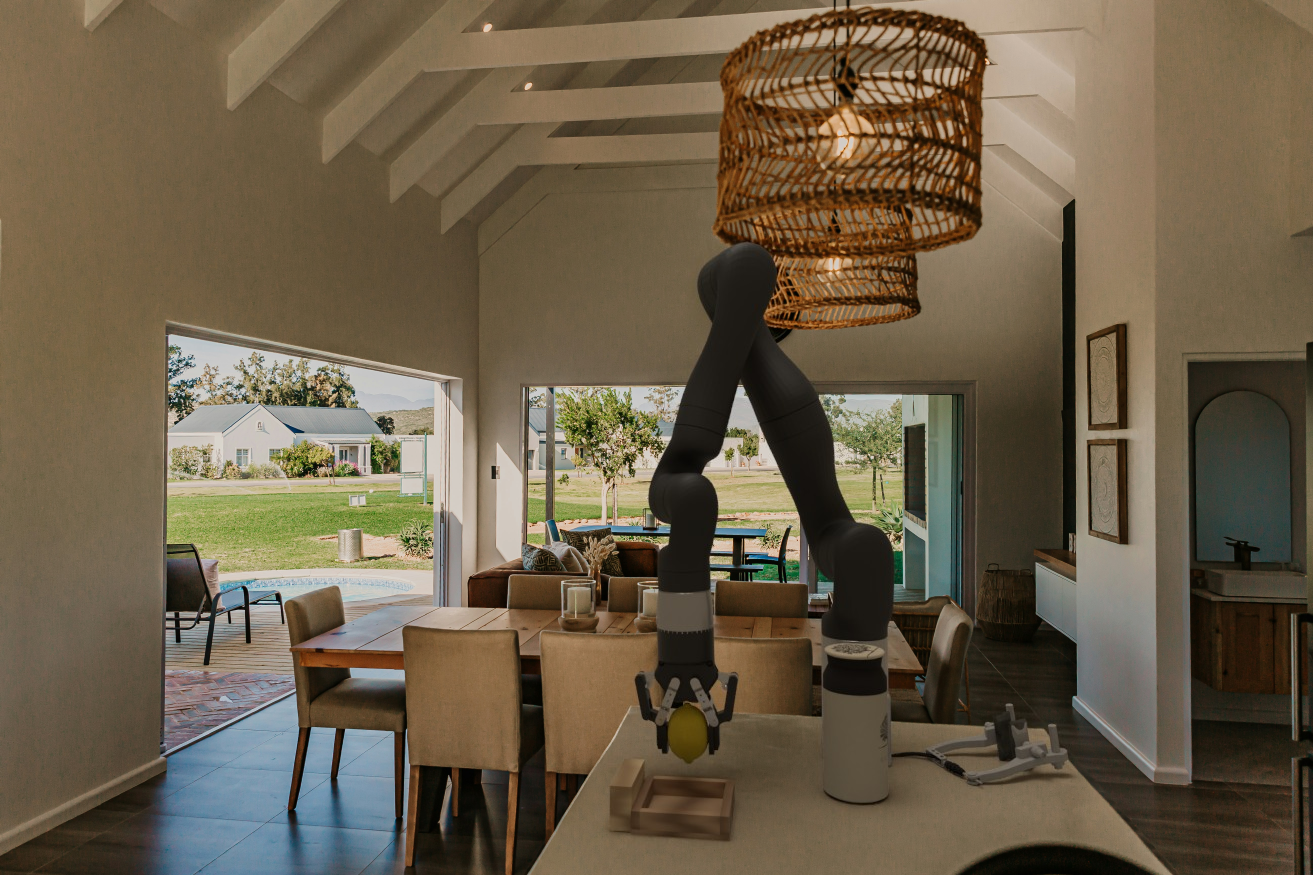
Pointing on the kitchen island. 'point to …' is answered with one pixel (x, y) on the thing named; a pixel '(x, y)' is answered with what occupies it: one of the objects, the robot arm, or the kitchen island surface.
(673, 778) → the walnut tray
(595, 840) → the kitchen island surface
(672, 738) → the lemon
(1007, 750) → the bike brake
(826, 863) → the kitchen island surface
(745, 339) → the robot arm
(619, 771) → the oak stop
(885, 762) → the travel mug
